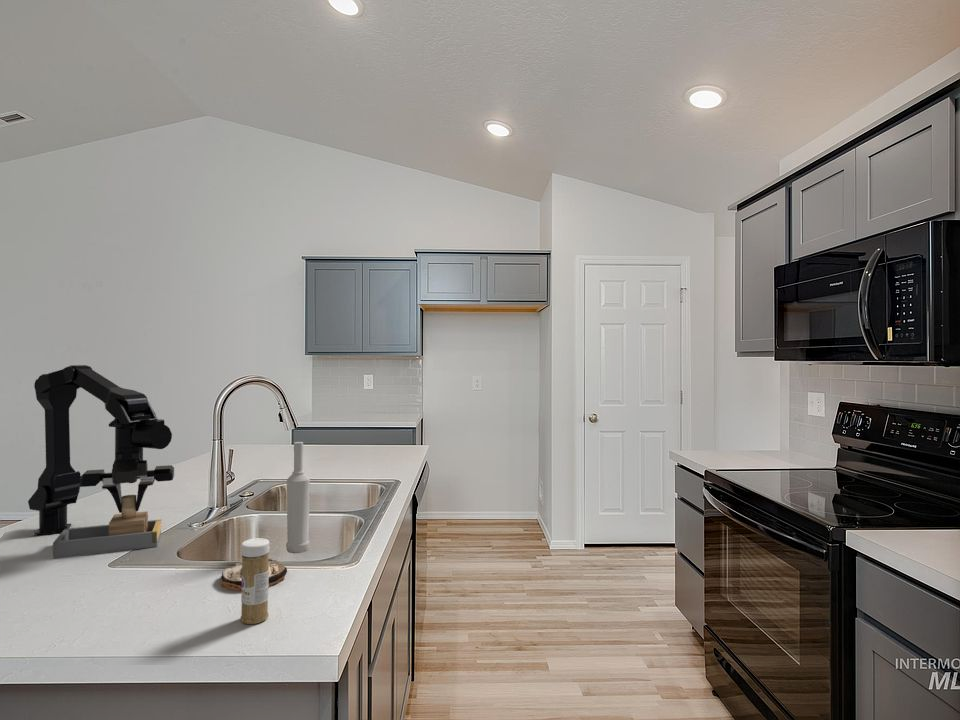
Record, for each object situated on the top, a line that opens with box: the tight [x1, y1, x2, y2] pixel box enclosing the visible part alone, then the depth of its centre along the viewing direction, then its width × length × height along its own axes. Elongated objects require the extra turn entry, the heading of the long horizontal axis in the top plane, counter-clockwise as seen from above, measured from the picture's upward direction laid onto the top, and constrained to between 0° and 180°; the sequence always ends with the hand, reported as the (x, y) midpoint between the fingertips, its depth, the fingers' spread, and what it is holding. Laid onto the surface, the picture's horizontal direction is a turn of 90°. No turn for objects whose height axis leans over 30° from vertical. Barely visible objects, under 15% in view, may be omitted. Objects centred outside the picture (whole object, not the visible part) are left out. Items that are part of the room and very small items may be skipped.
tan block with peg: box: [108, 494, 149, 536], centre depth 137 cm, size 8×7×10 cm
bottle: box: [285, 441, 311, 554], centre depth 134 cm, size 5×5×25 cm
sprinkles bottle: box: [240, 537, 270, 625], centre depth 99 cm, size 5×5×14 cm
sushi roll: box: [220, 558, 288, 591], centre depth 117 cm, size 15×15×4 cm
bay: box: [52, 519, 162, 559], centre depth 136 cm, size 11×20×4 cm, turn 114°
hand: (129, 511), depth 137 cm, fingers closed on tan block with peg, 3 cm apart
